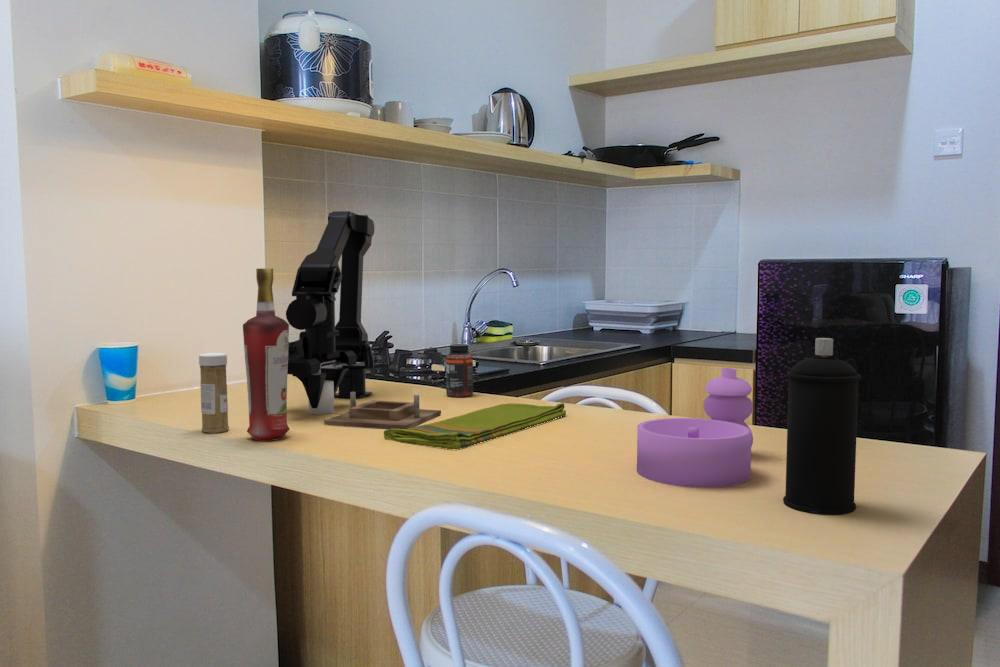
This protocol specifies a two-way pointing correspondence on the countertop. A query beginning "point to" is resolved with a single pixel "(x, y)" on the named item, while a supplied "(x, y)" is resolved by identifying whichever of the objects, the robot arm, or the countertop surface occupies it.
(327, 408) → the roll
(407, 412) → the holder
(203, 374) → the spice jar
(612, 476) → the countertop surface
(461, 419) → the dish towel
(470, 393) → the supplement bottle
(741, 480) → the container set
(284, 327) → the liquor
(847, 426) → the aerosol can
